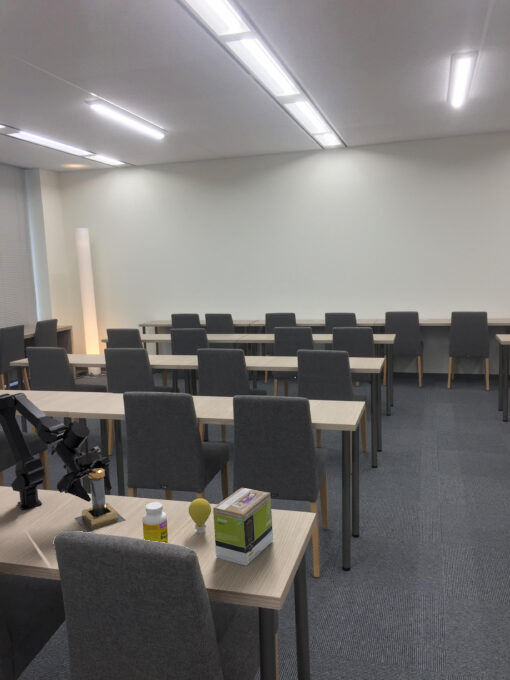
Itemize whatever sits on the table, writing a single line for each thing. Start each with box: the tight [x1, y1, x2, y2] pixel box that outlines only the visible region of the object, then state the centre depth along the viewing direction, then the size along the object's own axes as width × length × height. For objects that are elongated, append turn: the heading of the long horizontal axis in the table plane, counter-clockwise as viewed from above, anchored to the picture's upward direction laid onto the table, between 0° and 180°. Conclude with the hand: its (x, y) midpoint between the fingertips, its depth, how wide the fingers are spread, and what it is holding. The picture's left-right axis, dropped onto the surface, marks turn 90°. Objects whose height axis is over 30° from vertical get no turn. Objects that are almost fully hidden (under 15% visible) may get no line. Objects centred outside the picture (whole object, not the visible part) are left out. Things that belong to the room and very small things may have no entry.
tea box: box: [212, 487, 274, 566], centre depth 151 cm, size 15×10×15 cm
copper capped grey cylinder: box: [87, 468, 107, 517], centre depth 171 cm, size 5×5×16 cm
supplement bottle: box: [142, 501, 169, 544], centre depth 153 cm, size 7×7×13 cm
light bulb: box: [188, 498, 212, 534], centre depth 163 cm, size 7×7×10 cm
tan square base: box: [74, 503, 126, 533], centre depth 172 cm, size 12×12×3 cm
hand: (100, 495), depth 170 cm, fingers open, 9 cm apart
